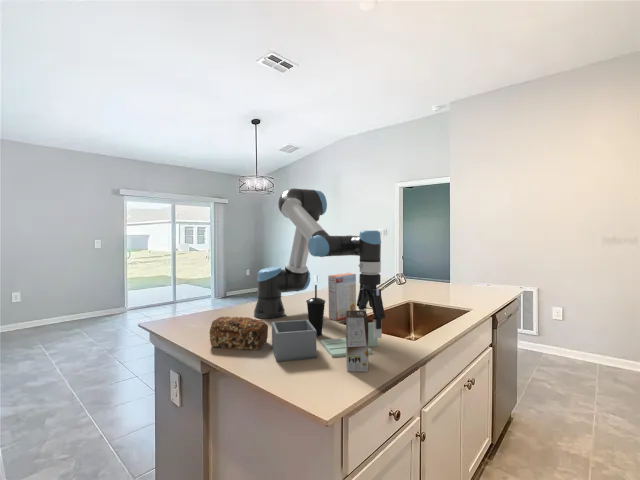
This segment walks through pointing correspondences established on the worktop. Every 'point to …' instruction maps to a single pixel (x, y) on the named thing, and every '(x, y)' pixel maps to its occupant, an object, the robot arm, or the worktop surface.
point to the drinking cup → (316, 312)
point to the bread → (238, 333)
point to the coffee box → (357, 341)
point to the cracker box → (341, 295)
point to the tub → (293, 340)
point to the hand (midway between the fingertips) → (369, 332)
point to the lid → (339, 345)
